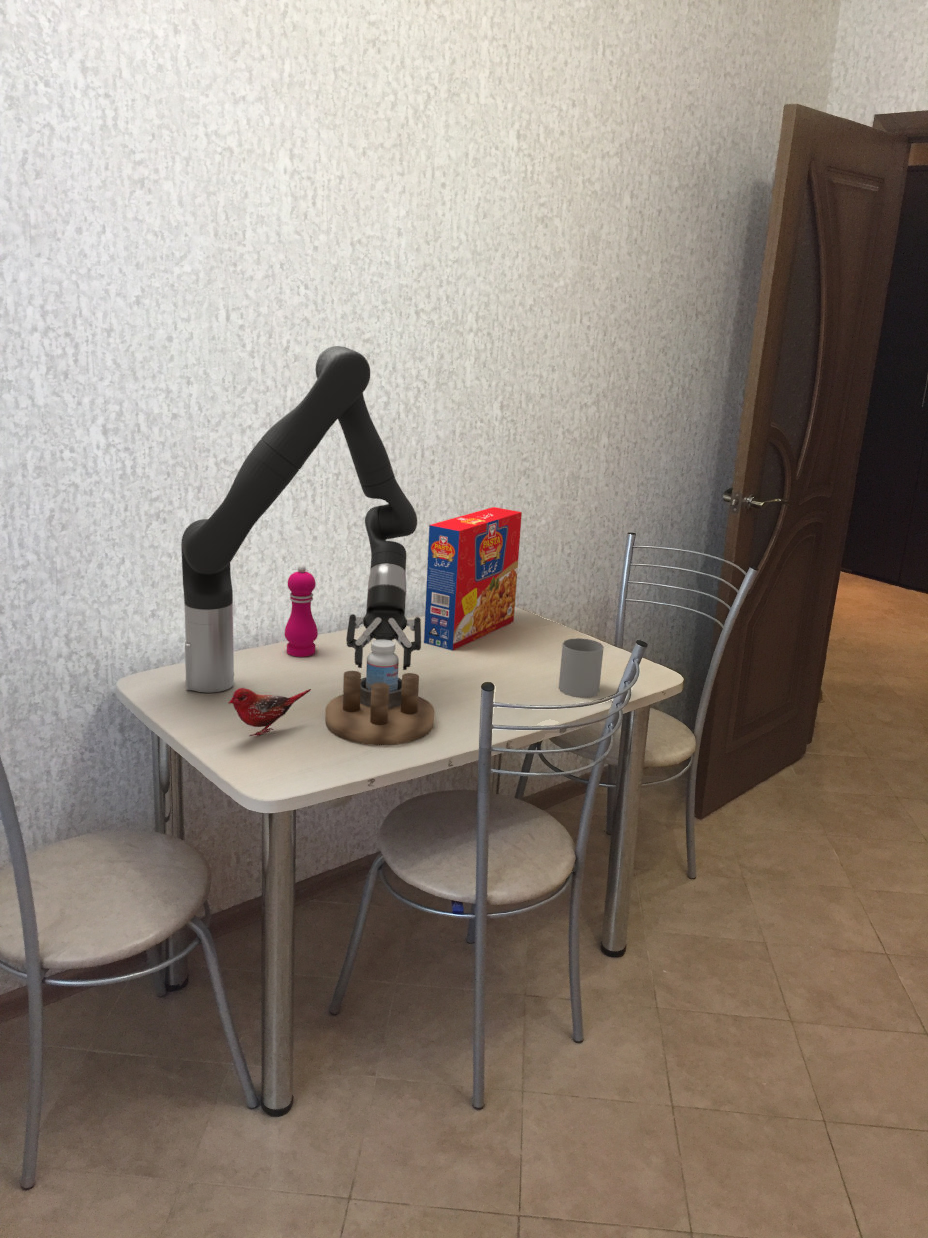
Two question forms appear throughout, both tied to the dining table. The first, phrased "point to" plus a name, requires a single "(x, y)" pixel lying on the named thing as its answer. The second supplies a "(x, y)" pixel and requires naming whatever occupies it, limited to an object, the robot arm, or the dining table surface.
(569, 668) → the cup
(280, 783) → the dining table surface
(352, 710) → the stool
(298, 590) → the pepper mill
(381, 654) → the pill bottle
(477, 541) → the pasta box
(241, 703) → the decorative bird figurine
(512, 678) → the dining table surface
